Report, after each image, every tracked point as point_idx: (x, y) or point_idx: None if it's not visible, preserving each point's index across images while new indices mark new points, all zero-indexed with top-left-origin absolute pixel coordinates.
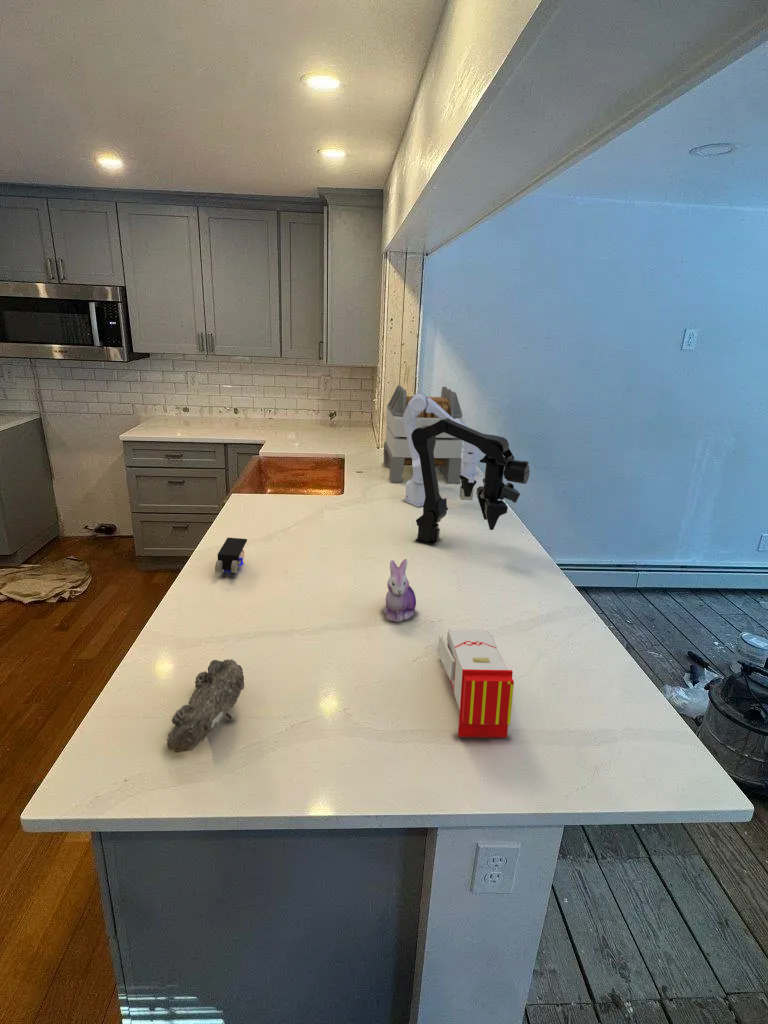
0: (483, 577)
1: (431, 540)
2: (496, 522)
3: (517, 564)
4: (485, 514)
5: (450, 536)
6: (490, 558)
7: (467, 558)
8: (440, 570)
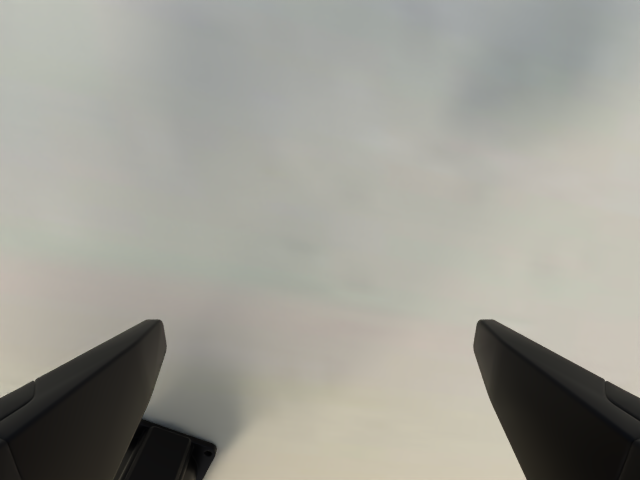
0: (607, 277)
1: (190, 464)
2: (592, 373)
3: (461, 21)
4: (140, 385)
5: (66, 356)
6: (363, 190)
7: (367, 315)
8: (499, 441)
